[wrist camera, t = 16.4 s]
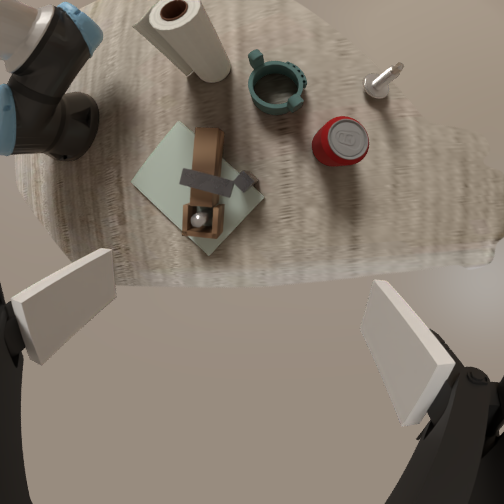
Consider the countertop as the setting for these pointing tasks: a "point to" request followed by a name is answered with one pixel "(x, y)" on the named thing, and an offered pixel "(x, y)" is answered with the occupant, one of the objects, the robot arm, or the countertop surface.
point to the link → (209, 162)
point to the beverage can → (341, 142)
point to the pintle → (201, 217)
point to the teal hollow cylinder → (280, 68)
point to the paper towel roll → (186, 38)
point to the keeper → (217, 182)
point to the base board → (175, 195)
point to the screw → (381, 81)
